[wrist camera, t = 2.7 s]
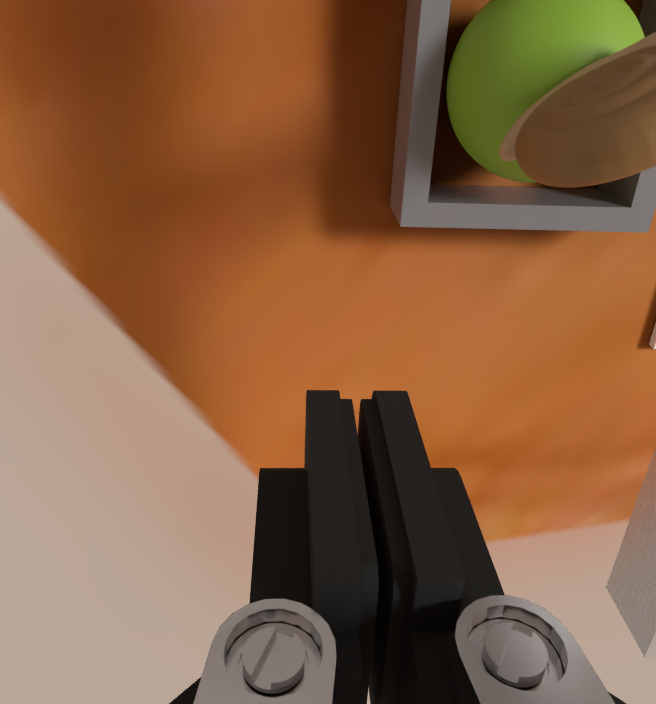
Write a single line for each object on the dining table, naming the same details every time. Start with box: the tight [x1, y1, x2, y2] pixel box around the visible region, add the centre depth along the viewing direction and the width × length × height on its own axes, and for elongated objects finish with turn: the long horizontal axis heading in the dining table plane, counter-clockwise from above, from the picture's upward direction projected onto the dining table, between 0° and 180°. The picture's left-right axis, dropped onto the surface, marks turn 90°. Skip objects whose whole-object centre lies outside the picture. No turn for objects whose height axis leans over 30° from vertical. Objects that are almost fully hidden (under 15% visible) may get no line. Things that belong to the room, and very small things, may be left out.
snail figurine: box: [446, 0, 656, 188], centre depth 15 cm, size 5×6×12 cm
